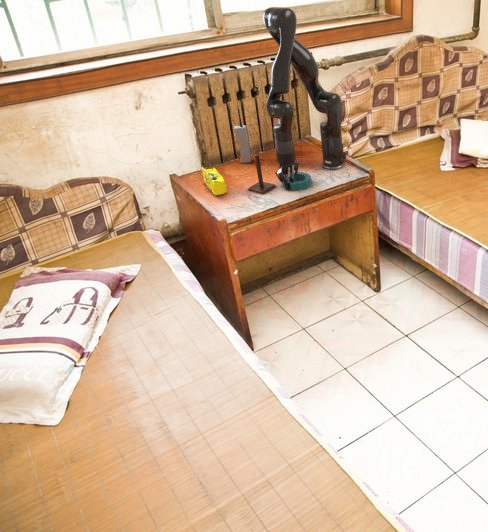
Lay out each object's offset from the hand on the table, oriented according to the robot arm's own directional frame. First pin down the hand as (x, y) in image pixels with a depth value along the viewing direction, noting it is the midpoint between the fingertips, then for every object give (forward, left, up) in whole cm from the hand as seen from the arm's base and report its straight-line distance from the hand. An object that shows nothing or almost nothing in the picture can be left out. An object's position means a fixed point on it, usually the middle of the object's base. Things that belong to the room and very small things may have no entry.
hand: (290, 188), depth 230 cm
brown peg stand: (+5, -11, 0) cm, 12 cm away
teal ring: (-5, 0, 0) cm, 5 cm away
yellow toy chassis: (+14, -29, 0) cm, 32 cm away
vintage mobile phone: (-15, -37, 0) cm, 40 cm away
